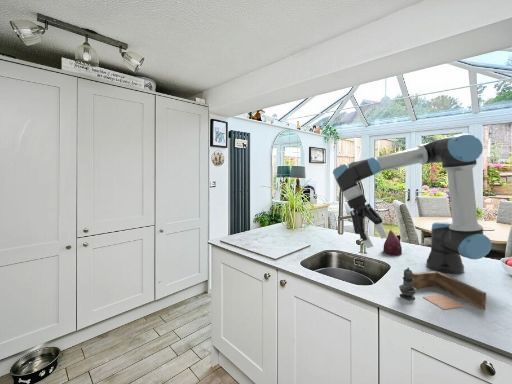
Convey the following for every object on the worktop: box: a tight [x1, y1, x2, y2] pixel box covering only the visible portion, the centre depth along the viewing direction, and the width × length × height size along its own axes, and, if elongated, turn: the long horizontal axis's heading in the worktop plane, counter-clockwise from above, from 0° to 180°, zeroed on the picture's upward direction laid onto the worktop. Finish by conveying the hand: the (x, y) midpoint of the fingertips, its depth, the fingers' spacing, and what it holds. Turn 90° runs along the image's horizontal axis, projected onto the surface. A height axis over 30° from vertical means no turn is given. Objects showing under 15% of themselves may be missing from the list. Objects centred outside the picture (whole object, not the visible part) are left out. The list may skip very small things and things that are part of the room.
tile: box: [422, 293, 466, 311], centre depth 94 cm, size 9×9×1 cm
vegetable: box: [382, 229, 403, 256], centre depth 151 cm, size 10×10×15 cm
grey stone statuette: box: [398, 267, 417, 301], centre depth 98 cm, size 6×6×12 cm
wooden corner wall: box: [412, 270, 487, 310], centre depth 97 cm, size 12×20×6 cm, turn 9°
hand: (377, 242), depth 107 cm, fingers open, 13 cm apart
